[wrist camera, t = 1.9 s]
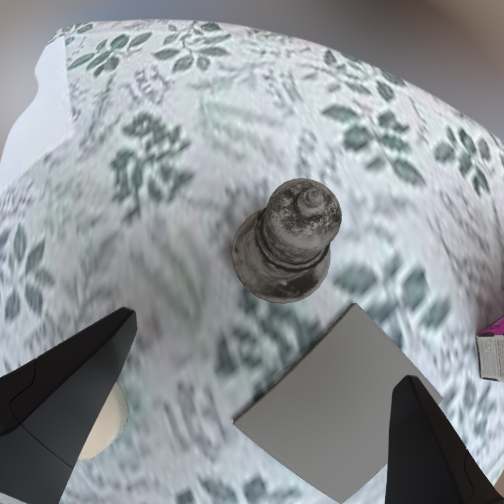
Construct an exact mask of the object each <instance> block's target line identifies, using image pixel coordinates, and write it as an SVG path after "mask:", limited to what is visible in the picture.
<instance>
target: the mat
mask: <svg viewBox="0 0 504 504" xmlns="http://www.w3.org/2000/svg"><path fill="white" fill-rule="evenodd" d="M406 375H416V376H417V377H418V378H419V379H420V380H421V382H422V383H423V384H424V386H425V387H426V389H427V390H428V391H429V393H430V394H431V396H432V397H433V399H434V400H435V401H436V403H437V404H438V405H439V403H440V402H441V401H442V399H443V397H442V396H441V395H440V394H439V393H438V391H437V390H436V389H435V388H434V387H433V386H432V385H431V383H430V382H429V381H428V380H427V379H426V378H425V377H424V376H423V374H422V373H421V372H420V371H419V370H418V369H417V368H416V367H415V365H414V364H413V363H412V362H411V361H410V360H409V359H408V358H407V357H406V355H405V354H404V353H403V352H402V351H401V350H400V349H399V348H398V347H397V346H396V345H395V343H394V342H393V341H392V340H391V339H390V338H389V337H388V336H387V335H386V334H385V333H384V332H383V331H382V329H381V328H380V327H379V326H378V325H377V324H376V323H375V322H374V321H373V320H372V319H371V318H370V317H369V316H368V315H367V314H366V312H365V311H364V310H363V309H362V308H361V307H360V306H359V305H358V304H357V303H353V304H352V306H351V307H350V308H349V309H348V310H347V311H346V312H345V314H344V315H343V316H342V317H341V318H340V319H339V320H338V321H337V322H336V324H335V325H334V326H333V327H332V328H331V329H330V330H329V331H328V332H327V333H326V334H325V335H324V336H323V338H322V339H321V340H320V341H319V342H318V343H317V344H316V345H315V346H314V347H313V348H312V349H311V350H310V351H309V352H308V353H307V354H306V355H305V356H304V357H303V358H302V359H301V360H300V361H299V362H298V363H297V364H296V365H295V366H294V367H293V368H292V369H291V370H290V371H289V372H288V373H287V374H286V375H285V376H284V377H283V378H282V379H281V380H280V381H279V382H277V383H276V384H275V385H274V386H273V387H272V388H271V389H270V390H269V391H268V392H267V393H266V394H264V395H263V396H262V397H261V398H260V399H259V400H258V401H257V402H256V403H254V404H253V405H252V406H251V407H250V408H249V409H248V410H246V411H245V412H244V413H243V414H242V415H241V416H239V417H238V418H237V419H236V420H235V421H234V422H233V425H235V426H236V427H237V428H238V429H239V430H240V431H241V432H243V433H244V434H245V435H246V436H247V437H248V438H250V439H251V440H252V441H253V442H254V443H256V444H257V445H258V446H259V447H261V448H262V449H263V450H264V451H266V452H267V453H268V454H269V455H271V456H272V457H273V458H275V459H276V460H277V461H278V462H280V463H281V464H282V465H284V466H285V467H286V468H288V469H289V470H290V471H292V472H293V473H295V474H296V475H297V476H299V477H300V478H302V479H303V480H305V481H306V482H307V483H309V484H310V485H312V486H313V487H315V488H316V489H318V490H319V491H321V492H322V493H324V494H326V495H327V496H329V497H330V498H332V499H333V500H335V501H337V502H338V503H340V504H342V503H343V502H345V501H346V500H347V499H348V498H350V497H351V496H352V495H353V494H354V493H356V492H357V491H358V490H359V489H360V488H361V487H363V486H364V485H365V484H366V483H367V482H368V481H369V480H370V479H372V478H373V477H374V476H375V475H376V474H377V473H378V472H379V471H380V470H381V469H382V468H383V467H384V466H385V465H386V464H387V463H388V440H389V423H390V413H391V401H392V392H393V389H394V387H395V386H396V385H397V384H398V383H399V382H400V381H401V380H402V378H403V377H404V376H406Z"/></svg>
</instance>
